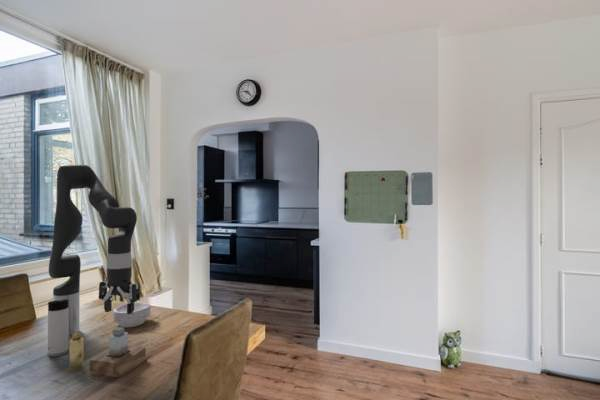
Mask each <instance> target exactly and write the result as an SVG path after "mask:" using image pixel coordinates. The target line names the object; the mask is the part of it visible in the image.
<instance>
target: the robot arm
mask: <svg viewBox="0 0 600 400" xmlns="http://www.w3.org/2000/svg"><path fill="white" fill-rule="evenodd" d="M56 173H57V174H56V206H55V213H54V214H55V215H54V222H53V233H52V234H53V238H52V239H53V240H52V247H51V250H50V251H51V253H50V257H49V263H48V274H49V277H50V278H52V279H61V278H62V279H64V278H68V279H67V280H66V281H64V282H62V283H61V284H57V285H56V286H55V287H54V288H53V289H52V301H55V300H57V301H60V300H65V299H67V300H68V307H69V308H68V309H69V337H70V336H72V334H73V333H75V332H80V311H81V310H80V300H81V298H80V296H81V295H80V283H81V280H80V279H81V278H80V277H81V269H82V268H81V267H82V266H81V263H82V262H81V258H80V256H79V255H78V254H65V255H63V254H64V252H65V251H66V250H67V248H68V247H69V246H70V245H71V244H72V243H73V242H74V241H76V239H77V238H78V237H79V235H80V234H81V232H82V226H83V214H82V213H81V211H80V210H79V208H78V207H77V206H76V205H75V203H74V201H73V200H72V198H71V191H72V190H77V189H80V190H81V189H89V192H88V201H89V204H90V206H92V207H93V209H95V210H96V211H97V212H98V215H99V217H100V219H101V223H102V225H103V226H104V227H106V228H108V229H113V230H114V229H120V230H119V232H118V233H116V234H114V235H110V236H109V237H108V239H107V255H106V256H107V257H106V280H104V281H100V282H99V284H98V285H99V286H98V299H99V300H102V301H103V302H104V303H103V309H104V312H105V313H109V312H111V311H113V310H112V307H113V305H112V302H113V301H112V299H113V297H114V296H118V297H122V298H123V299H124V300H125V301H126V304H127V314H131V313H133V311H134V303H137V301H139V300H141V291H140V290H141V289H140V283H139V282H136V283H132V282H131V279H132V278H133V277H132V275H133V273H132V269H133V265H132V264H133V261H132V259H133V257H132V238H133V234H134V230H135V227H136V225H137V220H138V217H137V212H136V211H135V209H134V208H132V207H129V206H127V207H126V206H125V207H122V206H121V207H120V203H119V201H118V200H117V199H116V198H115V197H114V196H113V195H112V194H111V193H110V192H109V191H108V190H107V189H106V188H105V186H104V185H103V183H102V182H101V180H100V179H99V177H98V176H97V174H96V172H95V171H94V170H93V169H92V167H90V166H89V165H87V164H62V165H60V166H59V168H58V170H57V172H56Z"/></svg>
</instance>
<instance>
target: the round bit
mask: <svg viewBox="0 0 600 400" xmlns="http://www.w3.org/2000/svg"><path fill="white" fill-rule="evenodd" d="M71 336H72V337H71V338H70V339H69V358H68V359H69V364H68V365H69V372H77V371H81V370H83V369H84V367H85V363H84V362H85V360H84V358H85V357H84V356H85V353H84V352H85V351H84V349H85V346H84V345H85V342H84V341H85V340H84V339H85V337H84V336H82V332H81V331H79V332H75V333H73V334H72V335H71Z"/></svg>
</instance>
